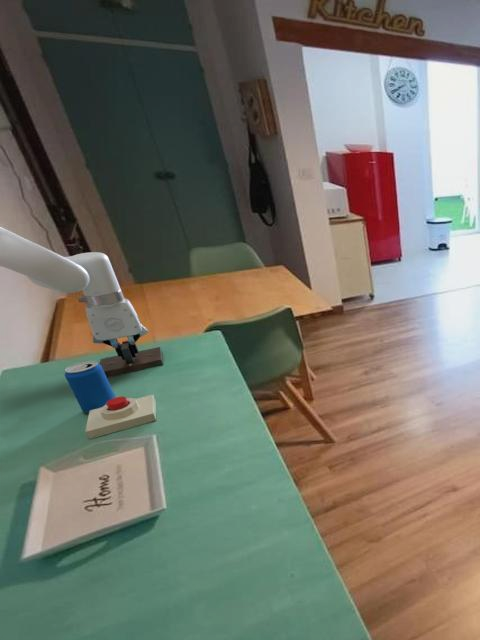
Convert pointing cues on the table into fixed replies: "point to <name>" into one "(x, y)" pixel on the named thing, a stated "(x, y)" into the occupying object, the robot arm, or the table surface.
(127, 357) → the knob
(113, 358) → the panel
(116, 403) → the button
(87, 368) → the beverage can
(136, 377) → the table surface
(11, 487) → the table surface
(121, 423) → the housing
